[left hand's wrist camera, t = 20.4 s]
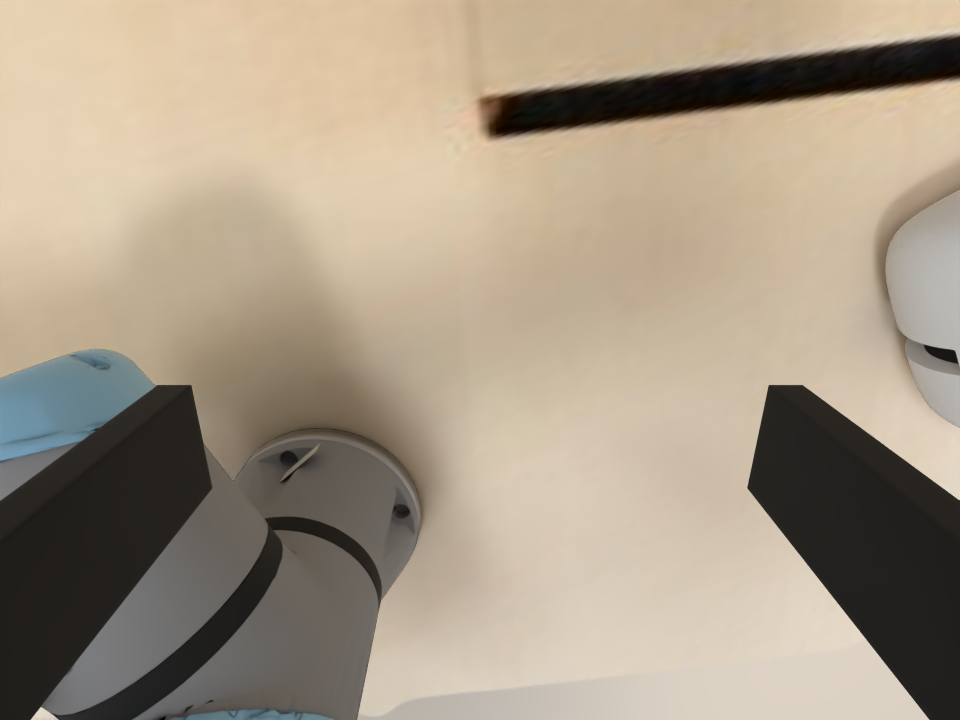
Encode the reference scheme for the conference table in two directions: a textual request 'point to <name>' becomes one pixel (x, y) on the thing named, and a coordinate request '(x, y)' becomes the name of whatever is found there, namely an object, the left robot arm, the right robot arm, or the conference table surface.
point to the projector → (930, 301)
